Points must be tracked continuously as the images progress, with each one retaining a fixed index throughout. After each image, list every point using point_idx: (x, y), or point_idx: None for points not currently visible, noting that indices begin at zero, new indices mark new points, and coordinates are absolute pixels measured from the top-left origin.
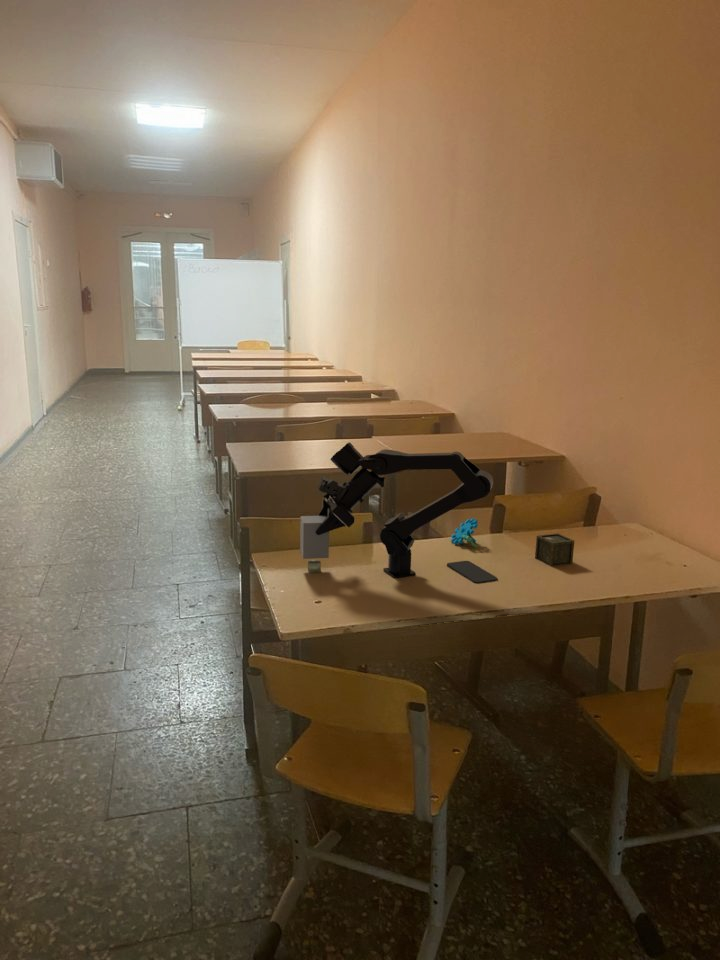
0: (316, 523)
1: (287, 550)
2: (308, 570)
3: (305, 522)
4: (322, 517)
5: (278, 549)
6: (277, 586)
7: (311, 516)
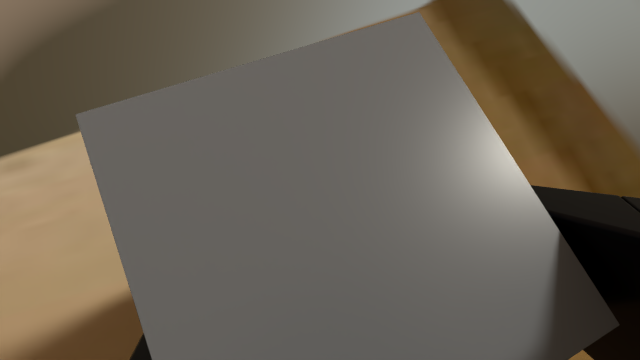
0: (143, 314)
1: (501, 94)
2: None
3: (132, 131)
4: (498, 311)
5: (495, 60)
6: (37, 175)
7: (468, 137)
